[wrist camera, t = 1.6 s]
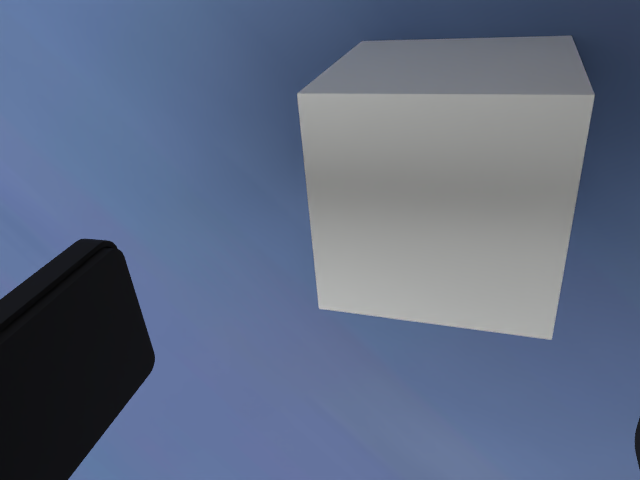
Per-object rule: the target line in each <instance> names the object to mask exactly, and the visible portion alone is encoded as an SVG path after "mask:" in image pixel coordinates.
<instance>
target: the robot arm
mask: <svg viewBox="0 0 640 480" xmlns="http://www.w3.org/2000/svg"><path fill="white" fill-rule="evenodd" d="M154 362H155V355H154V351H153V348H152V345H151V341H150V338H149V335H148V332H147V328H146V325H145V322H144V319H143V315H142V312H141V309H140V306H139V303H138V299H137V296H136V293H135V290H134V286H133V283H132V280H131V277H130V274H129V270H128V267H127V264H126V261H125V257H124V255H123V253H122V252H121V251H120V250H118V249H117V246H116V245H115V244H114V243H113V242H110V241H106V240H95V239H80V240H78V241H76V242H75V243H74V244H72V245H71V246H70V247H68V248H67V249H66V250H65V251H63V252H62V253H61V254H59V255H58V256H57V257H55V258H54V259H53V260H51V261H50V262H49V263H48V264H46V265H45V266H44V267H42V268H41V269H40V270H38V271H37V272H36V273H34V274H33V275H32V276H31V277H29V278H28V279H27V280H25V281H24V282H23V283H21V284H20V285H19V286H17V287H16V288H15V289H14V290H12V291H11V292H10V293H8V294H7V295H6V296H4V297H3V298H2V299H0V480H68V479H69V478H70V476H71V475H72V474H73V472H74V471H75V470H76V469H77V467H78V466H79V465H80V463H81V462H82V461H83V460H84V458H85V457H86V456H87V454H88V453H89V452H90V450H91V449H92V448H93V447H94V445H95V444H96V443H97V441H98V440H99V439H100V438H101V436H102V435H103V434H104V432H105V431H106V430H107V428H108V427H109V426H110V425H111V423H112V422H113V421H114V419H115V418H116V417H117V416H118V414H119V413H120V412H121V410H122V409H123V408H124V406H125V405H126V404H127V403H128V401H129V400H130V399H131V397H132V396H133V395H134V393H135V392H136V391H137V390H138V388H139V387H140V386H141V384H142V383H143V382H144V381H145V379H146V378H147V377H148V375H149V374H150V373H151V371H152V369H153V366H154ZM635 451H636V456H637V460H638V464H639V469H640V418H639V422H638V425H637V428H636V433H635Z"/></svg>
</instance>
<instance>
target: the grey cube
mask: <svg viewBox="0 0 640 480" xmlns="http://www.w3.org/2000/svg"><path fill="white" fill-rule="evenodd" d="M594 97H595V94H594V91H593V89H592V86H591V84H590V81H589V79H588V76H587V74H586V71H585V69H584V66H583V63H582V61H581V58H580V56H579V53H578V51H577V48H576V46H575V43H574V41H573V38H572V36H535V37H497V38H459V39H421V40H383V41H361V42H360V43H359V44H358V45H356V46H355V47H354V48H353V49H351V50H350V51H349V52H348V53H346V54H345V55H344V56H343V57H341V58H340V59H339V60H338V61H337V62H335V63H334V64H333V65H332V66H330V67H329V68H328V69H327V70H325V71H324V72H323V73H322V74H320V75H319V76H318V77H317V78H316V79H314V80H313V81H312V82H311V83H309V84H308V85H307V86H306V87H304V88H303V89H302V90H301V91H299V92H298V93H297V98H298V108H299V117H300V127H301V137H302V147H303V157H304V166H305V176H306V186H307V196H308V206H309V215H310V225H311V235H312V245H313V254H314V264H315V274H316V284H317V294H318V303H319V309H325V310H333V311H340V312H348V313H355V314H363V315H370V316H378V317H385V318H392V319H400V320H407V321H415V322H422V323H430V324H437V325H445V326H452V327H460V328H467V329H475V330H482V331H490V332H497V333H504V334H512V335H519V336H527V337H534V338H542V339H549V340H552V335H553V330H554V324H555V318H556V313H557V307H558V301H559V296H560V290H561V284H562V278H563V273H564V267H565V261H566V256H567V250H568V244H569V239H570V233H571V227H572V222H573V216H574V210H575V205H576V199H577V193H578V188H579V182H580V176H581V171H582V165H583V159H584V154H585V148H586V142H587V137H588V131H589V125H590V119H591V114H592V108H593V102H594Z"/></svg>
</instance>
